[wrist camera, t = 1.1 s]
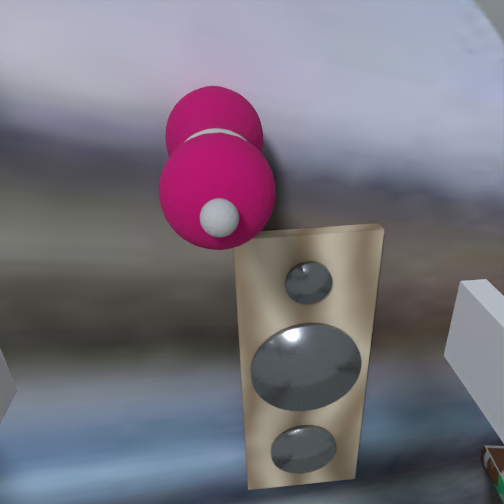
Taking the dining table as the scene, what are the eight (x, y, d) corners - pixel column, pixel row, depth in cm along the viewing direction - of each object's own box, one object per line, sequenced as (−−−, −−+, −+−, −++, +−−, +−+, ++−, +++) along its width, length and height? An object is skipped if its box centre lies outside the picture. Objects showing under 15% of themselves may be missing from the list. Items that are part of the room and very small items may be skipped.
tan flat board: (247, 479, 59) (248, 489, 58) (232, 233, 42) (233, 240, 41) (351, 468, 60) (354, 478, 58) (378, 223, 43) (384, 229, 41)
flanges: (252, 411, 51) (252, 416, 50) (245, 265, 42) (245, 269, 41) (355, 402, 52) (357, 406, 51) (370, 256, 43) (372, 259, 42)
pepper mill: (271, 103, 37) (331, 185, 19) (235, 180, 39) (258, 314, 22) (189, 62, 35) (171, 113, 17) (157, 147, 38) (113, 264, 20)
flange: (271, 472, 56) (271, 476, 56) (270, 428, 53) (270, 432, 52) (333, 466, 57) (334, 470, 56) (336, 421, 53) (338, 426, 53)
